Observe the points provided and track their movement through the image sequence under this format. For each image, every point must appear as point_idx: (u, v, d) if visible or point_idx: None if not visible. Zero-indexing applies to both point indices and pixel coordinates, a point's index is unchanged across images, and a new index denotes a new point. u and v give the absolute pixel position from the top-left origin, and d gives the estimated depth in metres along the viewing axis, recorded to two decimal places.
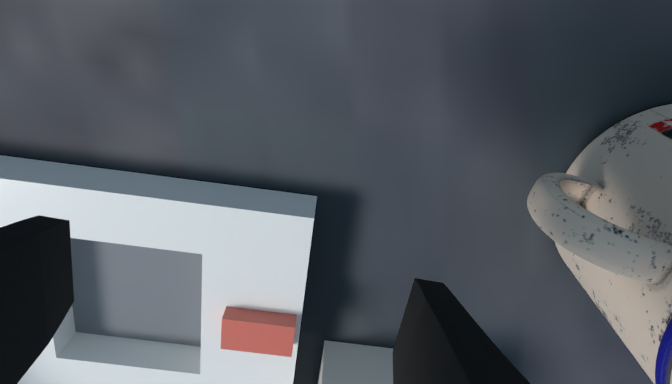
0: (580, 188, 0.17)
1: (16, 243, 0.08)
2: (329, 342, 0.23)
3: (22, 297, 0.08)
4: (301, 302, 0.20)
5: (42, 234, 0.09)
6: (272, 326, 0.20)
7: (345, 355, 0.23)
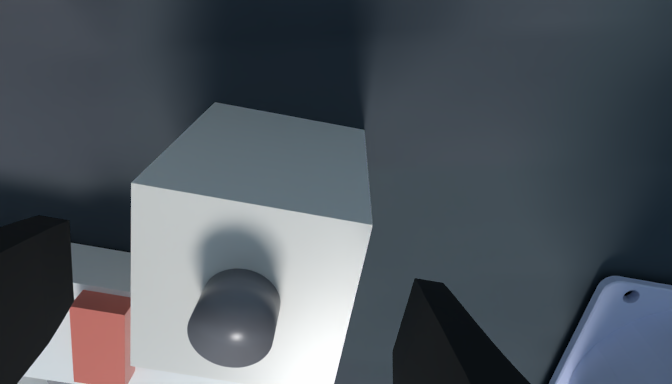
0: None
1: (16, 243, 0.08)
2: None
3: (22, 297, 0.08)
4: None
5: (42, 234, 0.09)
6: (76, 330, 0.14)
7: None
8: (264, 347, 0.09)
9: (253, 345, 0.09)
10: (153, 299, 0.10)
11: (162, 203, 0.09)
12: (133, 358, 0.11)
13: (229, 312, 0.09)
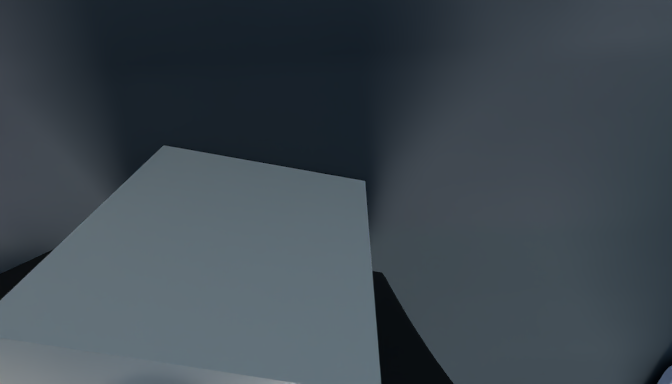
0: None
1: None
2: None
3: None
4: None
5: None
6: None
7: None
8: None
9: None
10: None
11: (24, 364, 0.05)
12: None
13: None
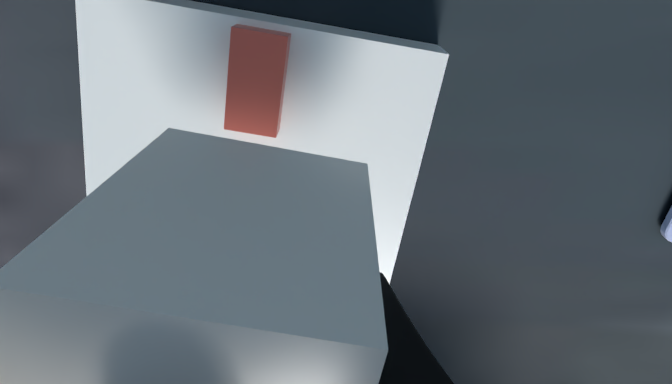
0: None
1: None
2: None
3: None
4: (213, 15, 0.14)
5: None
6: (233, 60, 0.14)
7: None
8: None
9: None
10: None
11: (37, 316, 0.05)
12: None
13: None
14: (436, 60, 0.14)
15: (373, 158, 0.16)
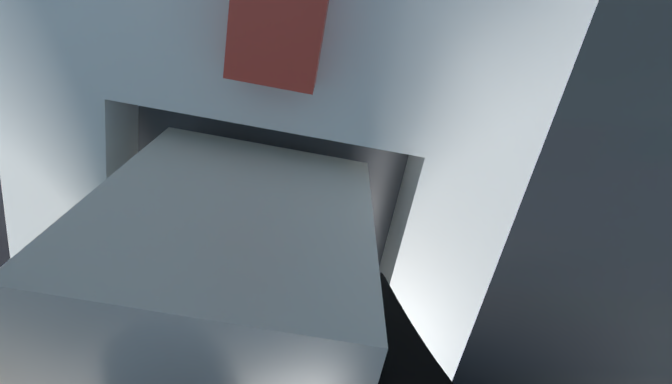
0: None
1: None
2: None
3: None
4: None
5: None
6: None
7: None
8: None
9: None
10: None
11: (37, 315, 0.05)
12: None
13: None
14: None
15: (466, 135, 0.10)
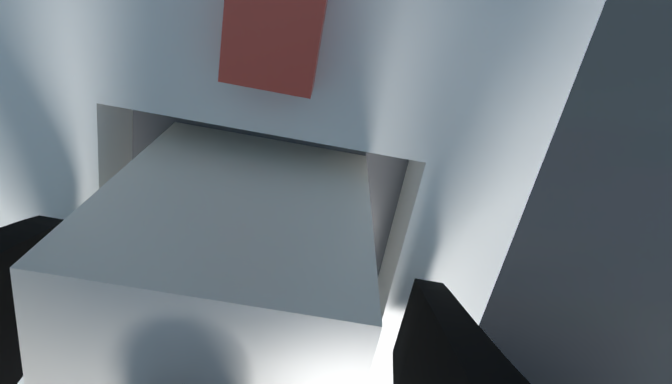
0: None
1: (16, 243, 0.08)
2: None
3: None
4: None
5: (42, 234, 0.09)
6: None
7: None
8: None
9: None
10: None
11: (61, 297, 0.06)
12: None
13: None
14: None
15: (469, 139, 0.09)
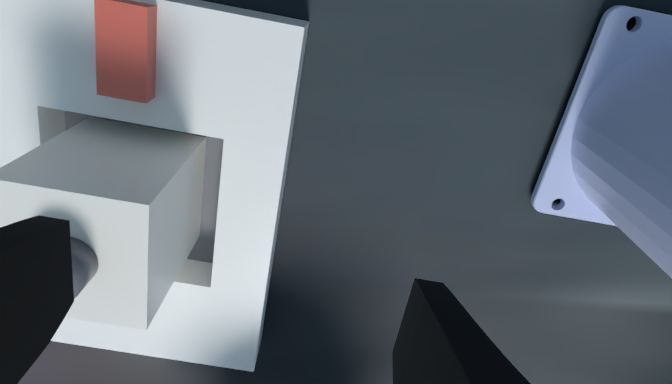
0: None
1: (16, 243, 0.08)
2: None
3: (22, 297, 0.08)
4: None
5: (42, 234, 0.09)
6: (100, 29, 0.15)
7: None
8: (76, 287, 0.13)
9: None
10: None
11: (6, 191, 0.13)
12: None
13: None
14: (293, 33, 0.16)
15: (245, 125, 0.17)
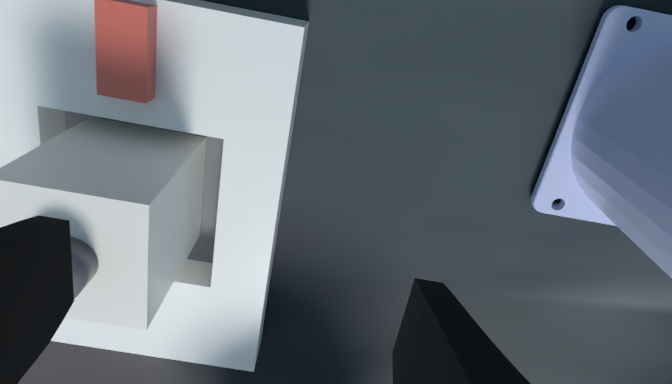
0: None
1: (16, 243, 0.08)
2: None
3: (22, 297, 0.08)
4: None
5: (42, 234, 0.09)
6: (100, 29, 0.15)
7: None
8: (76, 287, 0.13)
9: None
10: None
11: (6, 191, 0.13)
12: None
13: None
14: (293, 33, 0.16)
15: (245, 125, 0.17)
